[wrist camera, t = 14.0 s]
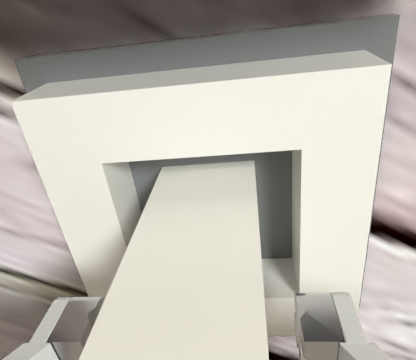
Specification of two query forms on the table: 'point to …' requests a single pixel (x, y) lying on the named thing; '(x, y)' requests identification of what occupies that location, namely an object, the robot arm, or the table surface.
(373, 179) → the frame
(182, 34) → the table surface
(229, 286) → the plug
